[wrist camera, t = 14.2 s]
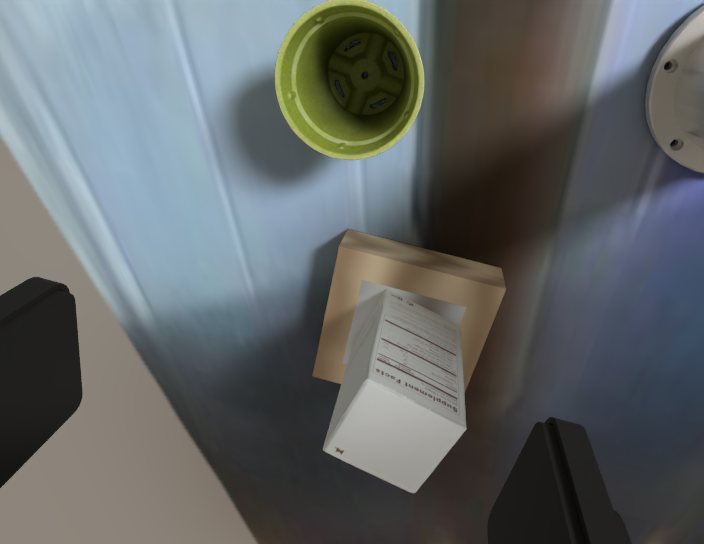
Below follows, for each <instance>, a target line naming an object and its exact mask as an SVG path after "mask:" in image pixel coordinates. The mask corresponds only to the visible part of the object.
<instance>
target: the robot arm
mask: <svg viewBox="0 0 704 544" xmlns="http://www.w3.org/2000/svg"><path fill="white" fill-rule="evenodd" d="M666 62H669V64H670V65H669V67H668V68H667V69H664V65H665V63H666ZM645 109H646V120H647V123H648V126H649V129H650V132H651V135H652V136H653V138H654V139H655V141H656V143H657V144H658V146H659V147H660V148H661V149H662V150H663V151H664V152H665V153H666V154H667V155H668V156H669V157H670V158H671V159H673V160H674V161H676V162H678V163H679V164H681V165H683V166H685V167H687V168H689V169H691V170H693V171H696V172H700V173H704V5H703V6H702V7H700V8H699V9H698V10H696V11H695V12H694V13H693V14H691V15H690V16H689V17H688V18H687V19H686V20H685V21H684V22H683V23H682V24H681V25H680V26H679V27H678V28H677V29H676V30H675V31H674V33H673V34H672V35H671V37H670V38H669V40H668V41H667V42H666V44H665V45H664V47H663V48H662V49H661V51H660V53H659V55H658V57H657V59H656V61H655V63H654V65H653V67H652V70H651V74H650V77H649V80H648V84H647V89H646V98H645ZM674 139H675V143H674V144H673V145H671V146H670V143H671V142H672V141H673V140H674ZM81 399H82V382H81V369H80V357H79V343H78V330H77V318H76V304H75V298H74V296H73V295H72V294H70V292H69V289H68V288H67V286H66V285H64V284H62V283H58V282H54V281H51V280H47V279H43V278H40V277H33V278H30V279H28V280H26V281H24V282H23V283H21V284H19V285H18V286H16V287H14V288H13V289H11V290H9V291H7V292H6V293H4V294H2V295H1V296H0V488H1V487H2V486H3V485H4V484H5V483H6V482H7V481H8V480H9V479H10V478H11V477H12V476H13V475H14V474H15V473H16V471H18V470H19V469H20V468H21V467H22V466H23V464H24V463H25V462H26V461H27V460H28V459H29V458H30V457H31V456H32V455H33V454H34V453H35V452H36V451H37V450H38V449H39V448H40V447H41V446H42V445H43V444H44V443H45V442H46V441H47V440H48V439H49V438H50V437H51V436H52V435H53V434H54V433H55V432H56V431H57V430H58V429H59V428H60V427H61V426H62V425H63V424H64V423H65V421H67V420H68V418H69V417H71V415H72V414H73V413H74V412H75V411H76V410H77V408H78V407H79V405H80V402H81ZM488 544H632V543H631V541H630V538H629V535H628V532H627V529H626V527H625V524H624V522H623V520H622V518H621V516H620V515H619V514H618V513H617V512H616V511H615V510H613V507H612V504H611V502H610V499H609V496H608V493H607V490H606V487H605V484H604V482H603V479H602V476H601V473H600V470H599V467H598V464H597V461H596V459H595V456H594V453H593V450H592V447H591V444H590V441H589V439H588V436H587V433H586V430H585V429H584V427H583V426H581V425H579V424H575V423H571V422H568V421H564V420H560V419H557V418H553V417H550V418H549V419H547V420H546V422H545V423H542V422H537V423H536V424H535V426H534V428H533V429H532V431H531V433H530V435H529V437H528V439H527V441H526V443H525V445H524V447H523V449H522V451H521V453H520V455H519V457H518V459H517V461H516V463H515V465H514V467H513V469H512V471H511V473H510V475H509V477H508V479H507V481H506V483H505V485H504V487H503V489H502V490H501V492H500V494H499V496H498V498H497V500H496V502H495V504H494V506H493V508H492V510H491V513H490V516H489V520H488Z"/></svg>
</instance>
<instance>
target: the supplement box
mask: <svg viewBox="0 0 704 544" xmlns="http://www.w3.org/2000/svg"><path fill="white" fill-rule="evenodd" d="M466 429H467V428H466V411H465V395H464V376H463V358H462V341H461V327H460V325H458V324H456V323H455V322H453V321H451V320H449V319H447V318H445V317H443V316H441V315H439V314H437V313H435V312H433V311H431V310H429V309H427V308H425V307H423V306H421V305H419V304H416V303H414V302H413V301H411V300H408V299H406V298H404V297H402V296H400V295H398V294H396V293H394V292H392V291H390V290H387V289H386V290H385V291H384V292H383V294H382V296H381V297H380V299H379V301H378V302H377V304H376V306H375V307H374V309H373V311H372V313H371V314H370V316H369V318H368V320H367V322H366V323H365V325H364V327H363V329H362V330H361V332H360V334H359V336H358V338H357V339H356V341H355V343H354V345H353V346H352V349H351V353H350V356H349V360H348V363H347V367H346V370H345V374H344V377H343V380H342V384H341V387H340V391H339V394H338V398H337V401H336V405H335V408H334V411H333V415H332V418H331V422H330V425H329V429H328V432H327V436H326V439H325V443H324V446H323V451H325V452H327V453H329V454H331V455H332V456H334V457H336V458H338V459H340V460H342V461H344V462H347V463H349V464H351V465H353V466H355V467H357V468H359V469H362V470H364V471H366V472H368V473H370V474H372V475H374V476H376V477H379V478H381V479H383V480H385V481H387V482H389V483H392V484H394V485H396V486H398V487H400V488H402V489H404V490H406V491H409V492H412V493H416V492H417V490H418V489H419V488H420V486H421V485H422V484H423V483H424V482H425V480H426V479H427V478H428V477H429V475H430V474H431V473H432V472H433V470H434V469H435V468H436V467H437V465H438V464H439V463H440V462H441V460H442V459H443V458H444V457H445V455H446V454H447V453H448V452H449V450H450V449H451V448H452V447H453V445H454V444H455V443H456V442H457V440H458V439H459V438H460V437H461V435H462V434H463V433H464V432H465V431H466Z"/></svg>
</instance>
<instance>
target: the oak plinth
mask: <svg viewBox="0 0 704 544" xmlns="http://www.w3.org/2000/svg"><path fill="white" fill-rule="evenodd" d="M386 289H387V290H390V291H392V292H394V293H396V294H398V295H400V296H402V297H404V298H406V299H408V300H411V301H413V302H414V303H416V304H419V305H421V306H423V307H425V308H427V309H429V310H431V311H433V312H435V313H437V314H439V315H441V316H443V317H445V318H447V319H449V320H451V321H453V322H455V323H456V324H458V325H460V327H461V341H462V358H463V376H464V393H465V391H466V388H467V386H468V383H469V381H470V378H471V376H472V373H473V371H474V368H475V366H476V363H477V361H478V358H479V356H480V353H481V351H482V348H483V346H484V343H485V341H486V338H487V336H488V333H489V331H490V328H491V326H492V323H493V321H494V318H495V316H496V313H497V311H498V308H499V306H500V303H501V301H502V298H503V296H504V293H505V291H506V286H505V282H504V277H503V273H502V269H501V268H499V267H495V266H491V265H487V264H483V263H479V262H475V261H472V260H468V259H464V258H460V257H456V256H452V255H448V254H444V253H440V252H436V251H432V250H428V249H424V248H421V247H417V246H413V245H409V244H405V243H401V242H397V241H393V240H389V239H385V238H381V237H377V236H373V235H369V234H366V233H362V232H358V231H354V230H350V229H347V231H346V233H345V235H344V237H343V239H342V241H341V243H340V245H339V249H338V254H337V259H336V264H335V269H334V273H333V278H332V283H331V288H330V293H329V298H328V303H327V307H326V312H325V317H324V322H323V327H322V332H321V337H320V342H319V346H318V351H317V356H316V361H315V366H314V371H313V377H317V378H320V379H324V380H328V381H331V382H335V383H338V384H342V380H343V377H344V374H345V370H346V367H347V363H348V360H349V356H350V353H351V349H352V346H353V345H354V343H355V341H356V339H357V338H358V336H359V334H360V332H361V330H362V329H363V327H364V325H365V323H366V322H367V320H368V318H369V316H370V314H371V313H372V311H373V309H374V307H375V306H376V304H377V302H378V301H379V299H380V297H381V296H382V294H383V292H384V291H385V290H386Z"/></svg>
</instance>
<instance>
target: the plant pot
mask: <svg viewBox="0 0 704 544" xmlns="http://www.w3.org/2000/svg"><path fill="white" fill-rule="evenodd" d="M356 40H358V41H360V42H361V43H360V44H359V45H356V46H354V47H352V48H350V49H349V50H347V51H345V47H346V46H347V45H348V44H350V43H352V42H353V41H356ZM388 52H391V53H392V54H394V56H395V59H396V62H397V65H398V68H397V70H394V68H393V64H392V61H391V59H390V57H389V56H388ZM363 72H367V73H368V78H366V79H364V78H363V77H362V73H363ZM336 80H338V81H339V84H340V87H341V89H342V91H343V94H344V95H345V96H344V97H343V96H341V95H340V93H339V92H338V91H337V89H336V86H335V81H336ZM275 89H276V95H277V99H278V103H279V106H280V109H281V111H282V114H283V116H284V118H285V119H286V121H287V123H288V124H289V126H290V127H291V129H292V130H293V131H294V133H295V134H296V135H297V136H298V137H299V138H300V139H301V140H302V141H303V142H305V143H306V144H307V145H308V146H310V147H311V148H313V149H314V150H316V151H318V152H319V153H322V154H324V155H326V156H329V157H333V158H337V159H344V160H359V159H365V158H369V157H373V156H375V155H378V154H380V153H382V152H384V151H386V150H388V149H389V148H391V147H392V146H393V145H395V144H396V143H397V142H398V141H399V140H400V139H401V138H402V137H403V136H404V135H405V134H406V133H407V132H408V130H409V129H410V127H411V126H412V124H413V122H414V120H415V118H416V116H417V114H418V112H419V109H420V107H421V103H422V98H423V93H424V71H423V65H422V60H421V57H420V54H419V51H418V48H417V46H416V44H415V42H414V40H413V38H412V37H411V35H410V34H409V32H408V31H407V29H406V28H405V27H404V26H403V24H402V23H401V22H400V21H399V20H398V19H397V18H396V17H395V16H393V15H392V14H391V13H390V12H388V11H387V10H385V9H384V8H382V7H380V6H378V5H376V4H374V3H371V2H368V1H365V0H330V1H327V2H324V3H322V4H319V5H317V6H315V7H313V8H312V9H310V10H309V11H307V12H306V13H305V14H303V15H302V16H301V17H300V18H299V19H298V20H297V21H296V22H295V23H294V24H293V26H292V27H291V28H290V30H289V31H288V33H287V35H286V36H285V38H284V40H283V42H282V44H281V47H280V50H279V53H278V57H277V61H276V67H275ZM383 98H385V99H386V102H385V103H383V104H381V105H379V107H377V108H371V107H370V105H371V104H374V103H376V102H379V101H381V100H382V99H383Z"/></svg>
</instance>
